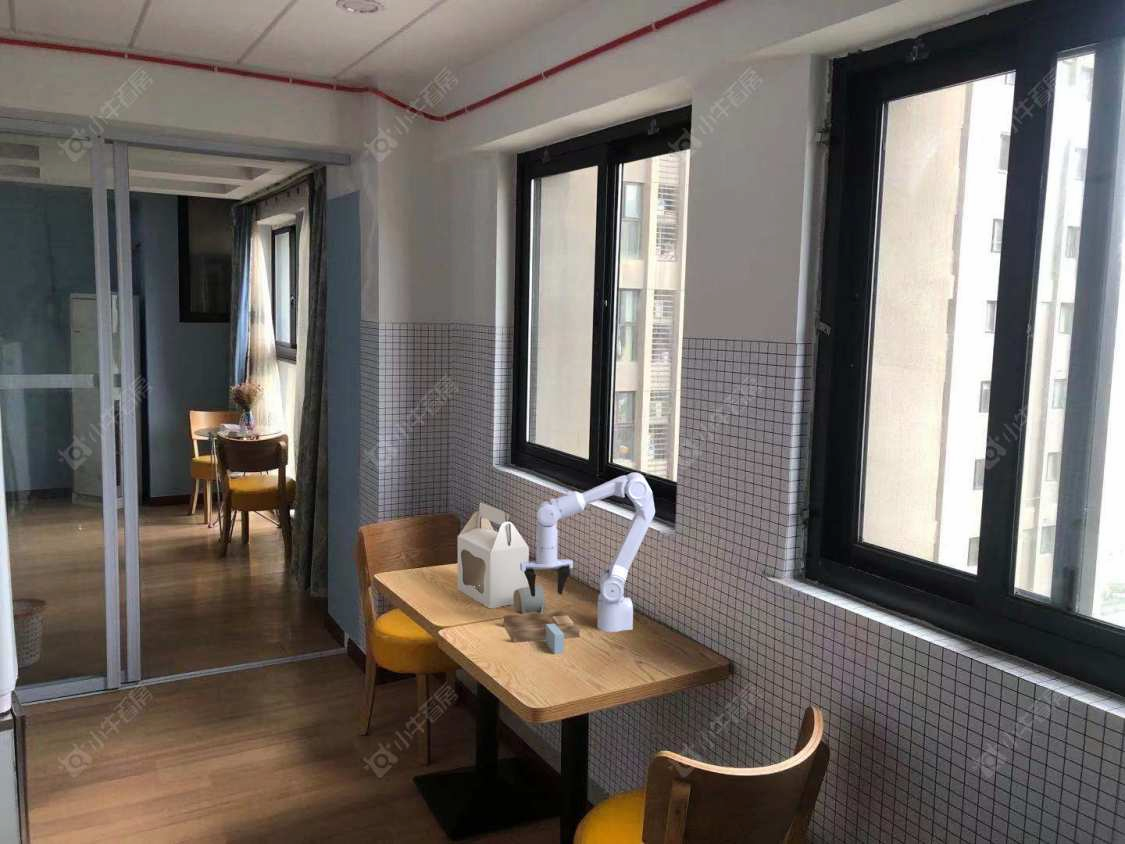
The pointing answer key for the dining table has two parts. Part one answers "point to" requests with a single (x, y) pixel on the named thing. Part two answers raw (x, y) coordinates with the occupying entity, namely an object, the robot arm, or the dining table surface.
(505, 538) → the gable box
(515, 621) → the rack
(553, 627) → the block
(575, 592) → the dining table surface
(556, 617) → the offcut top
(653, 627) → the dining table surface
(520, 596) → the ceramic mug
